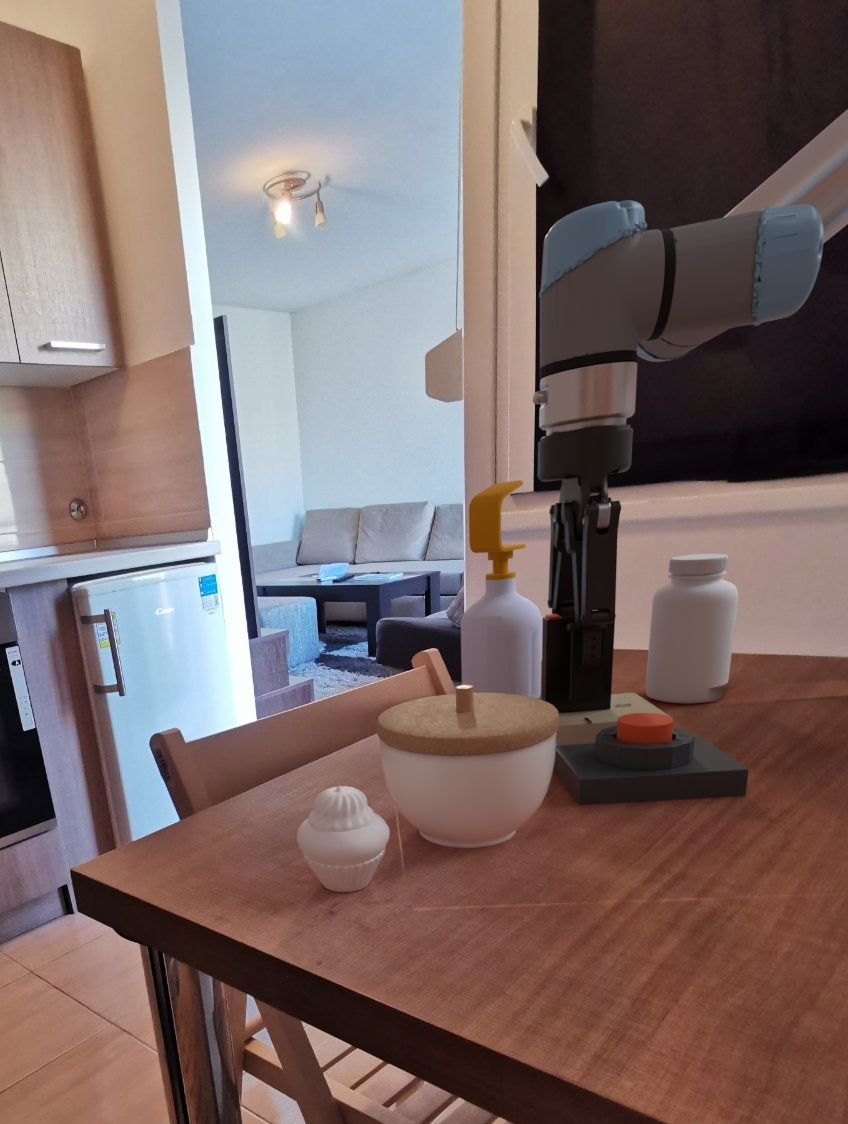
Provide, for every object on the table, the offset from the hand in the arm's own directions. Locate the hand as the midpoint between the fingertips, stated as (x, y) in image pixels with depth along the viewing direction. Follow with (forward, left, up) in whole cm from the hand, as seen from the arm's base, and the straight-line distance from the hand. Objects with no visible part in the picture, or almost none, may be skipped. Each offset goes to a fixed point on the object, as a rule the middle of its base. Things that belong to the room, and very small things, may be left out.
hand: (575, 690), depth 73 cm
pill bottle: (-15, -13, -5) cm, 20 cm away
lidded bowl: (+13, +21, -5) cm, 25 cm away
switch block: (-2, +13, -5) cm, 14 cm away
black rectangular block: (0, 0, -2) cm, 2 cm away
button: (-2, +13, -1) cm, 13 cm away
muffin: (+22, +29, -5) cm, 37 cm away
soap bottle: (+4, -18, -5) cm, 19 cm away
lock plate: (0, 0, -5) cm, 5 cm away
